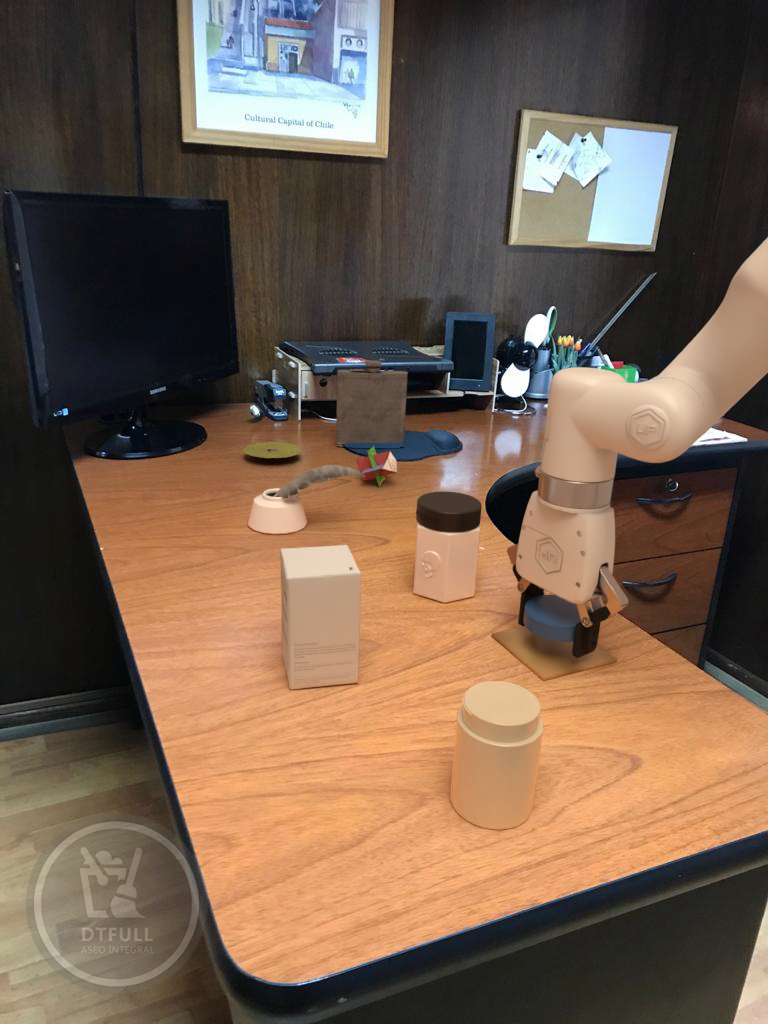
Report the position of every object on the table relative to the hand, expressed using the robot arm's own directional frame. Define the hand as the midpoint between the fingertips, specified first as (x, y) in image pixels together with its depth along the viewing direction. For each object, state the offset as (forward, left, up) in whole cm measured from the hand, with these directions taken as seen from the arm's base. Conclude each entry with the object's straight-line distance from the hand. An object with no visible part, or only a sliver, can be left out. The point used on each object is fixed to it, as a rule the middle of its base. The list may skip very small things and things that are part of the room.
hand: (555, 636), depth 87 cm
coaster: (0, 0, -2) cm, 2 cm away
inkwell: (+13, -45, -2) cm, 47 cm away
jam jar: (+20, +18, -2) cm, 27 cm away
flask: (-15, -82, -2) cm, 83 cm away
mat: (+7, -80, -2) cm, 81 cm away
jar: (+4, -18, -2) cm, 19 cm away
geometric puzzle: (-6, -60, -2) cm, 60 cm away
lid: (0, 0, +3) cm, 3 cm away
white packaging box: (+26, -6, -2) cm, 27 cm away
